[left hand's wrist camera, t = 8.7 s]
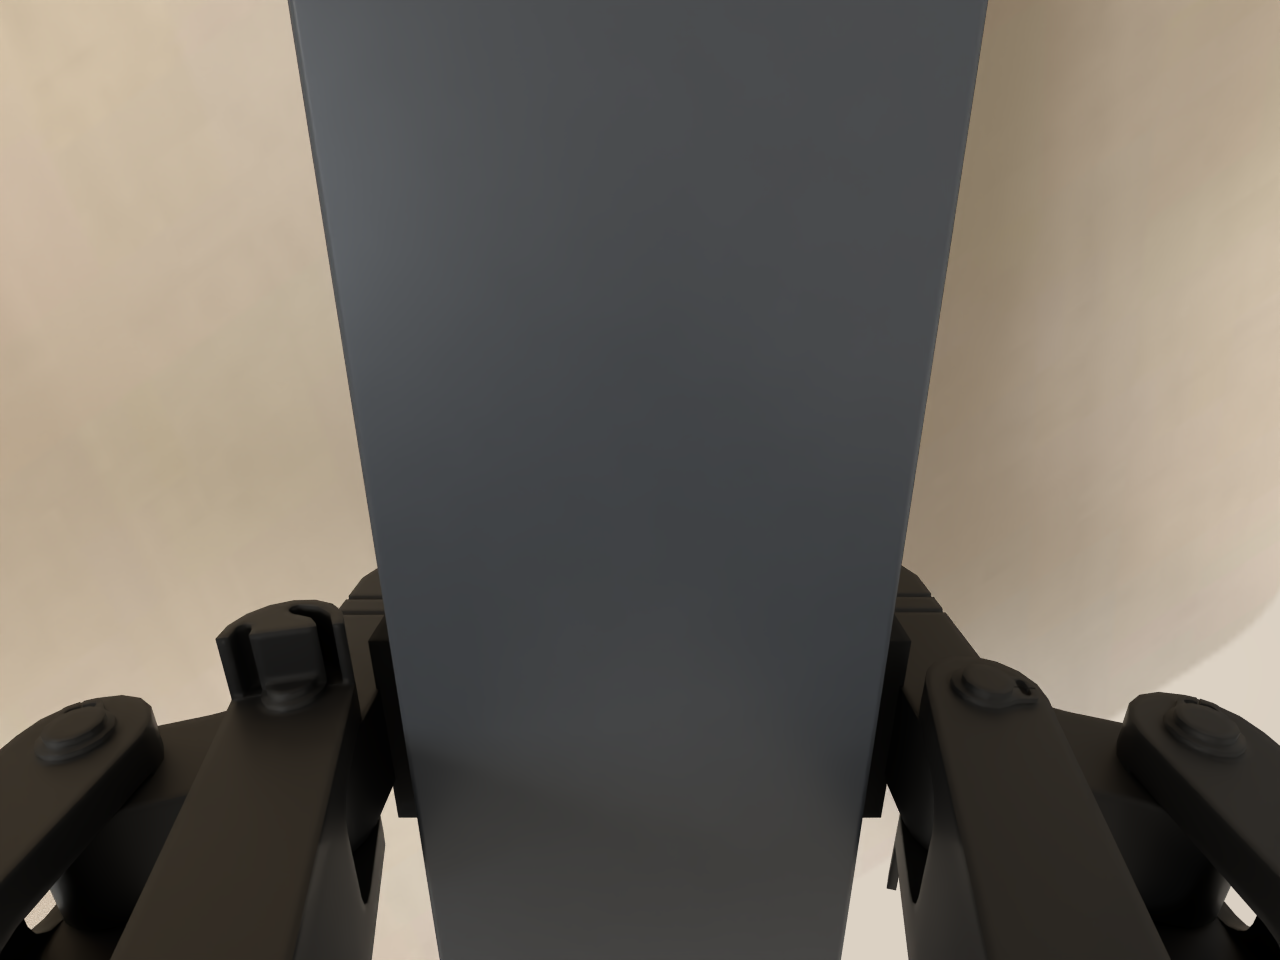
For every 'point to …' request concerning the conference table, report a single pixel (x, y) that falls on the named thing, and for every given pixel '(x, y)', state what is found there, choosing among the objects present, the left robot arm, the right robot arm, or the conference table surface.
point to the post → (638, 436)
